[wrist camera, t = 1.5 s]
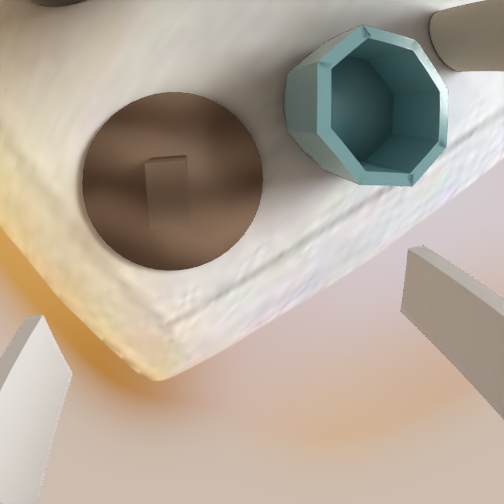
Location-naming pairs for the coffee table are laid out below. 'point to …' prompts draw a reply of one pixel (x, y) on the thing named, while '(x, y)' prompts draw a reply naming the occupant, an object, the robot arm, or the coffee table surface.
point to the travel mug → (470, 36)
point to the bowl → (368, 107)
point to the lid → (172, 181)
